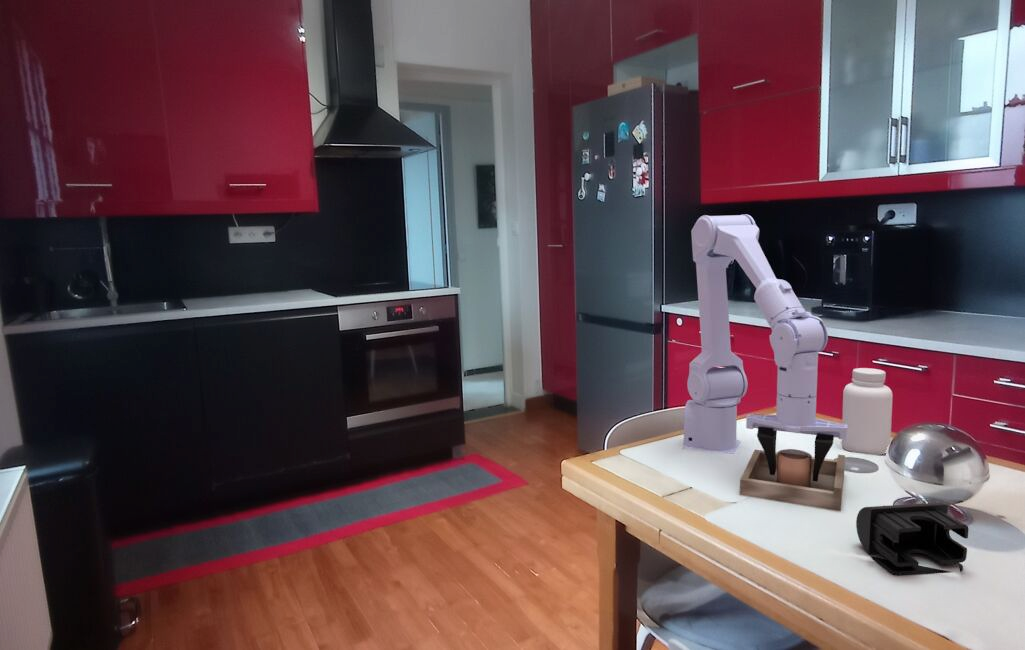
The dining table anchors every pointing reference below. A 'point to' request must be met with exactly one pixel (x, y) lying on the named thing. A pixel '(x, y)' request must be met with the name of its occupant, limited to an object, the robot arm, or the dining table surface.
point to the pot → (794, 467)
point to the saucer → (859, 465)
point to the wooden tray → (818, 495)
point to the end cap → (911, 536)
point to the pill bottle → (867, 412)
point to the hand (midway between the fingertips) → (793, 476)
